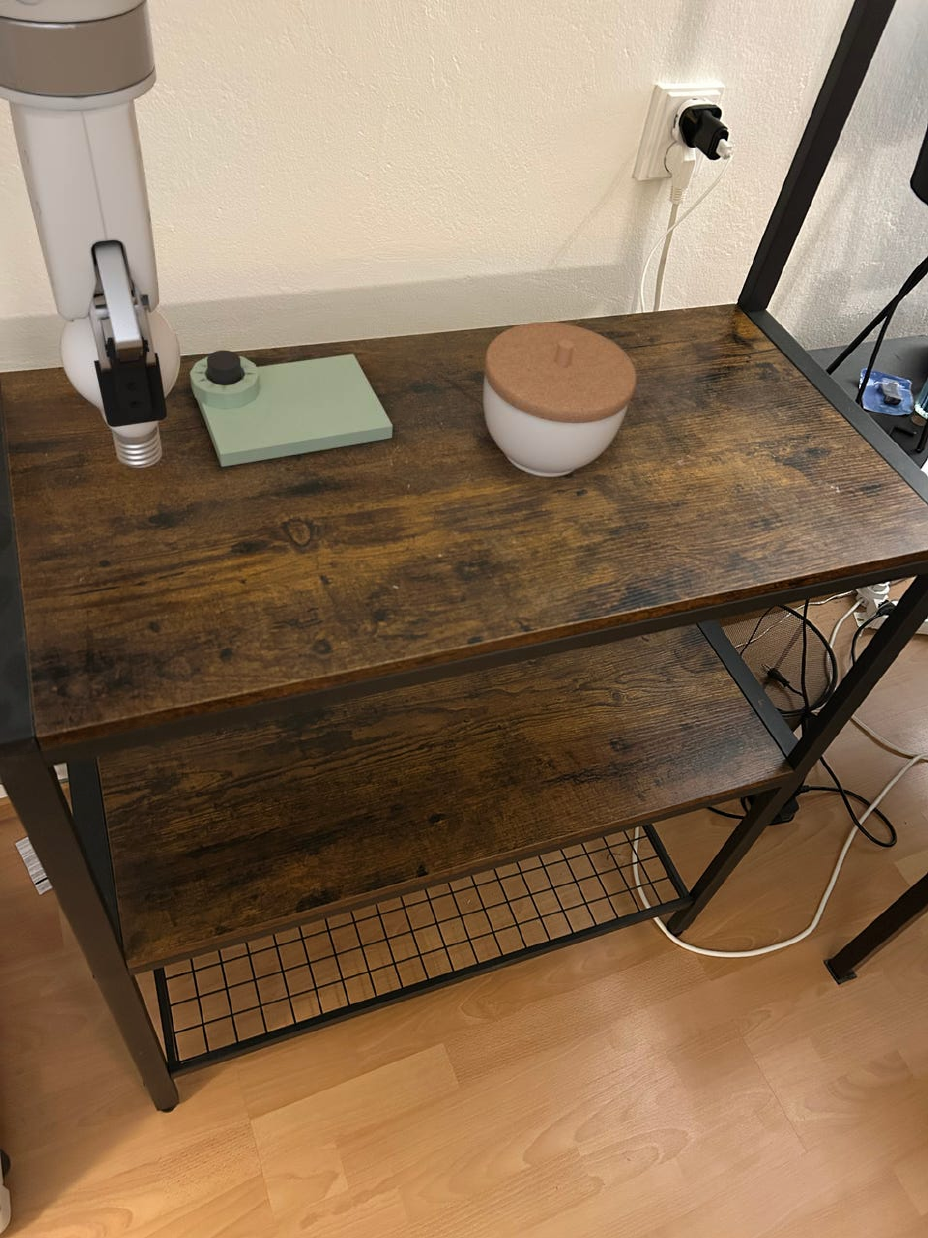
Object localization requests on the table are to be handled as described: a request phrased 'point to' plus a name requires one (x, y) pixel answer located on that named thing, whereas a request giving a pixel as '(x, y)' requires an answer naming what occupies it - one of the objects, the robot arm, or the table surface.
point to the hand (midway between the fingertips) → (126, 379)
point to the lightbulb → (77, 358)
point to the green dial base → (289, 409)
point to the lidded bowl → (555, 395)
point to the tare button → (224, 367)
